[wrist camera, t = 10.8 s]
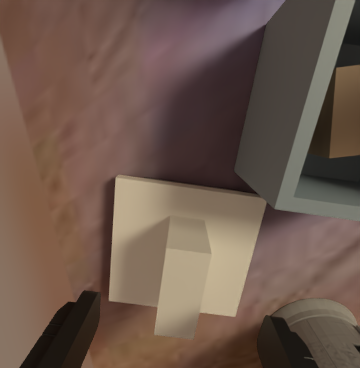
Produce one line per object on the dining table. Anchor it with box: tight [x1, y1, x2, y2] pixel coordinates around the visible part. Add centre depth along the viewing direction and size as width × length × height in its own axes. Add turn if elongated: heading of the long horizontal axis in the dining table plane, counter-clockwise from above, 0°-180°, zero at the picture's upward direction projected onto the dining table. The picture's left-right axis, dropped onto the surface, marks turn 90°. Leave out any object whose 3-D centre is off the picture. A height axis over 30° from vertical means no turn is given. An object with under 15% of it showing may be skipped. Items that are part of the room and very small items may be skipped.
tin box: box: [234, 0, 360, 221], centre depth 11 cm, size 9×9×7 cm
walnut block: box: [307, 65, 360, 158], centre depth 11 cm, size 4×4×4 cm
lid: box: [109, 175, 267, 340], centre depth 14 cm, size 10×10×5 cm
